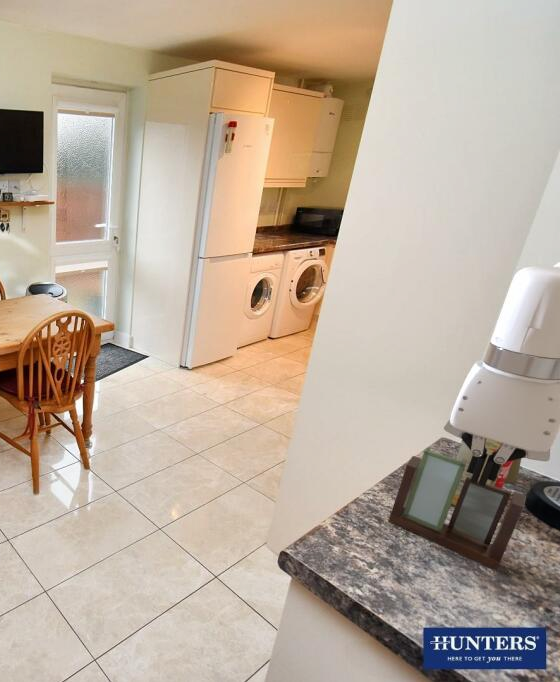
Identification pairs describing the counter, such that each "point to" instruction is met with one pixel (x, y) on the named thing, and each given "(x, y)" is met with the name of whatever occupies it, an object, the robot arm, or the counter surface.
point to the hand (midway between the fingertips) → (478, 480)
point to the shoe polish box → (466, 456)
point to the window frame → (466, 519)
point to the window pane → (433, 489)
